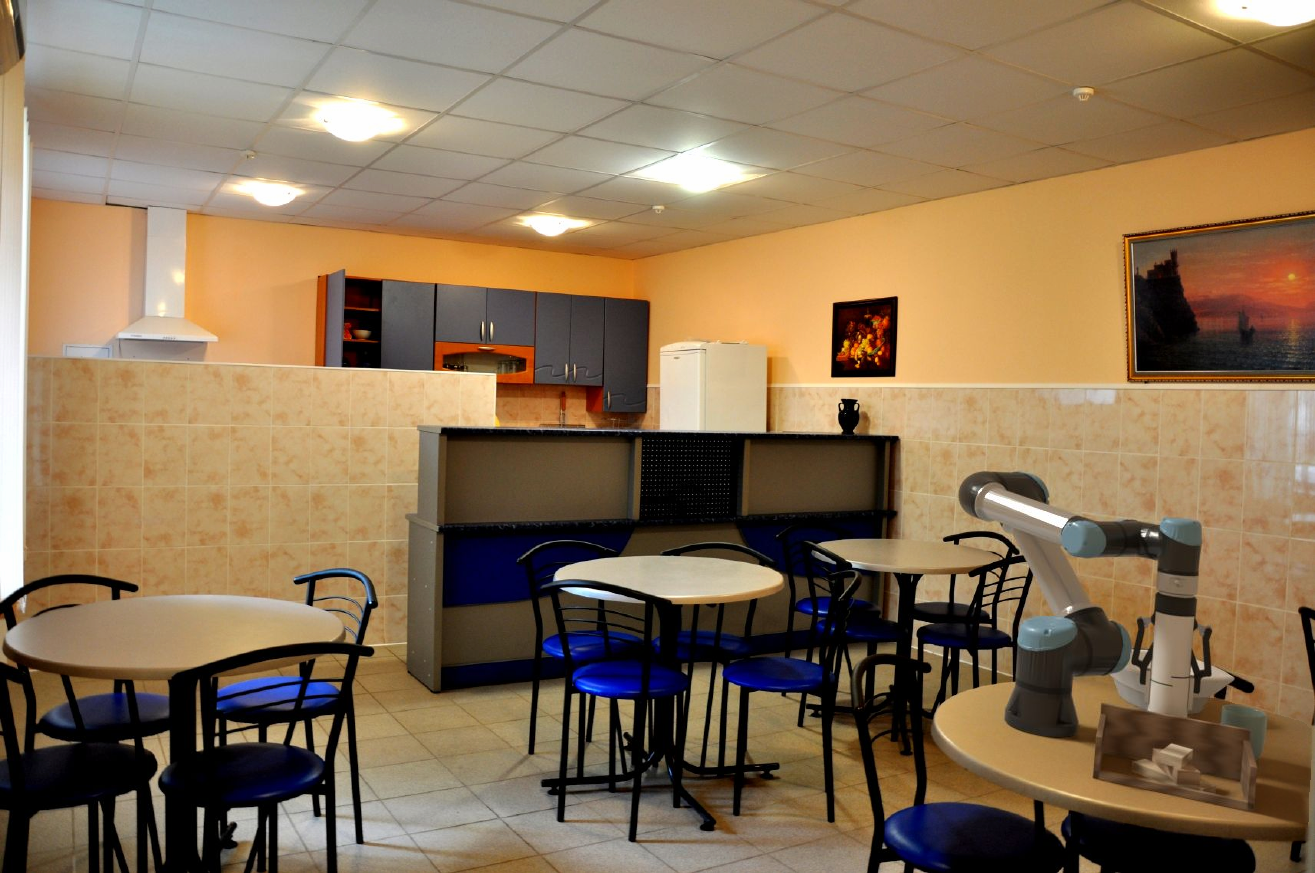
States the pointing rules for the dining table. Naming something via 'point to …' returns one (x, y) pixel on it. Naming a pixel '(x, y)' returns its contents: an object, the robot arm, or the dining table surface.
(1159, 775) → the offcut bottom
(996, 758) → the dining table surface
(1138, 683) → the bowl
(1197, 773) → the offcut middle
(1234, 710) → the cup
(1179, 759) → the offcut top
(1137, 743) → the rack
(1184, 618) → the cylindrical container
